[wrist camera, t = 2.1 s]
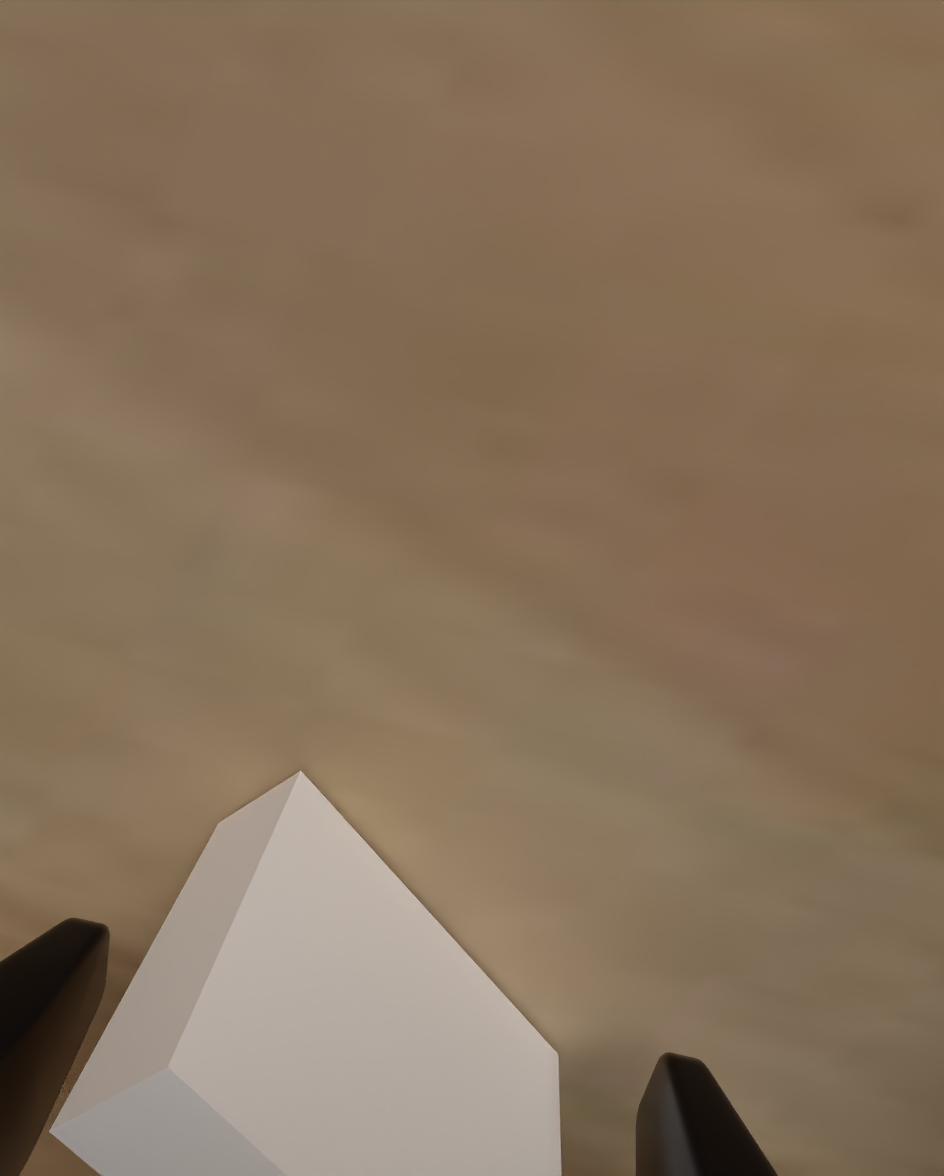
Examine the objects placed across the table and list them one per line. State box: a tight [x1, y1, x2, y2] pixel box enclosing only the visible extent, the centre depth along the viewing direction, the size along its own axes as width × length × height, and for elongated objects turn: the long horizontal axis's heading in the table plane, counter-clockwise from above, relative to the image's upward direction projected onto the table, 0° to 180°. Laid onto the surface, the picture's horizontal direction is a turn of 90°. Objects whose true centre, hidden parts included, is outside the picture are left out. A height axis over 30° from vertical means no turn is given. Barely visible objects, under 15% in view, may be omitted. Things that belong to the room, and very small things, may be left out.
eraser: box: [49, 771, 561, 1176], centre depth 8 cm, size 1×5×4 cm, turn 37°
